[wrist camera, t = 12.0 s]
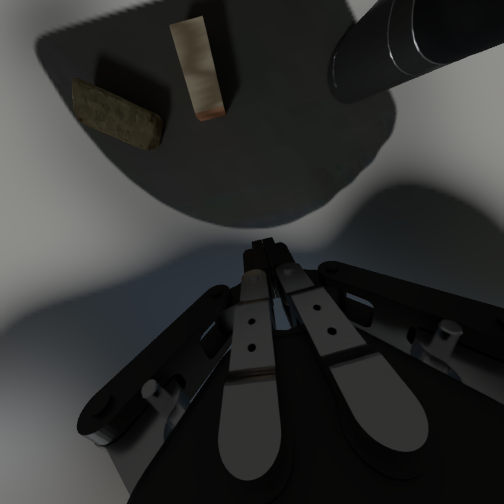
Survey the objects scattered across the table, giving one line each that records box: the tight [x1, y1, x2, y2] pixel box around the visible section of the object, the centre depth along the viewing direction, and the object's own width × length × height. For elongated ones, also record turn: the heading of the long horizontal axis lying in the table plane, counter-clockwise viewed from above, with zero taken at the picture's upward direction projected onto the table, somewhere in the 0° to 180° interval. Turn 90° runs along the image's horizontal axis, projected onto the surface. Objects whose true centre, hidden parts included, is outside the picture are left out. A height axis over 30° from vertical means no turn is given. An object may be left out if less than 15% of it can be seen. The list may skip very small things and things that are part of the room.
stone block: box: [72, 78, 163, 150], centre depth 30 cm, size 6×12×5 cm, turn 68°
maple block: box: [169, 16, 226, 121], centre depth 28 cm, size 4×4×10 cm
